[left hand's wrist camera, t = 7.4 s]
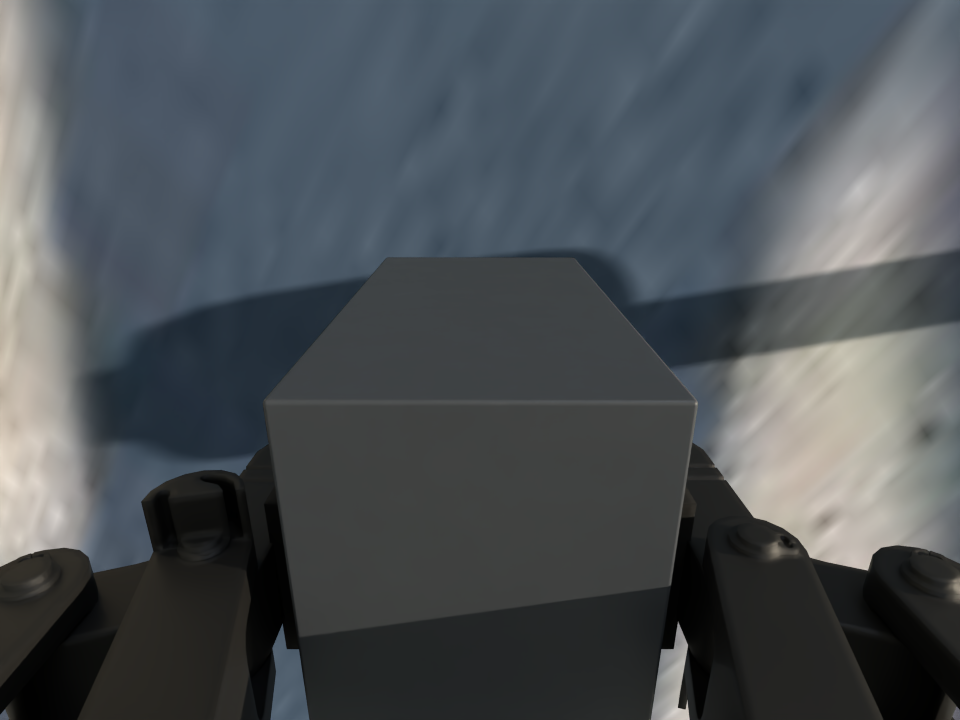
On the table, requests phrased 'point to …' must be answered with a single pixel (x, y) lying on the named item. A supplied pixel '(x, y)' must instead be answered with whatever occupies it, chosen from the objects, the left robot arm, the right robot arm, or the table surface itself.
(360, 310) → the bar
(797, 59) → the table surface
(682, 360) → the table surface
